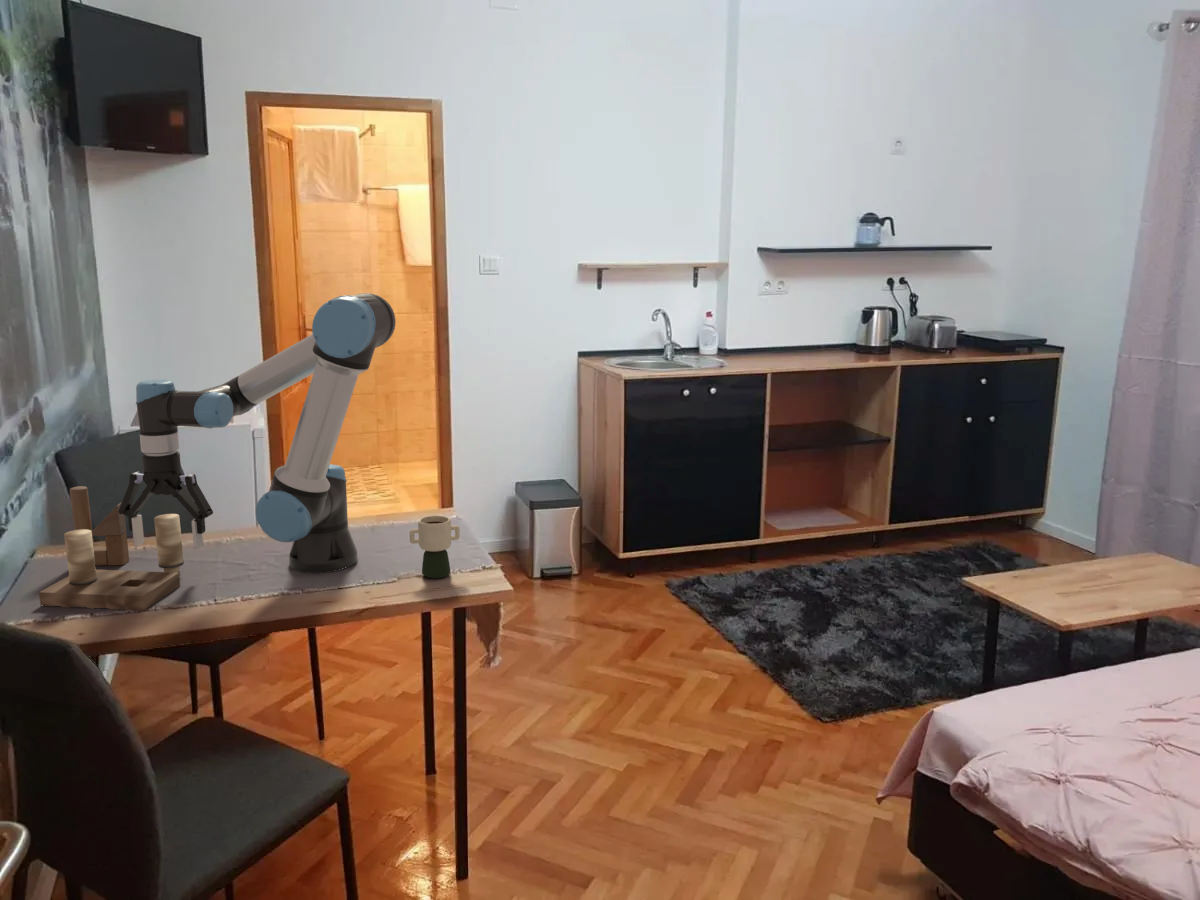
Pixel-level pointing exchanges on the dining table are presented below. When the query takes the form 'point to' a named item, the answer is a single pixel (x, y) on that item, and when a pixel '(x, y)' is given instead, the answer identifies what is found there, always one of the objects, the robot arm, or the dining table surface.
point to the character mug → (435, 544)
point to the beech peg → (169, 542)
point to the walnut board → (104, 581)
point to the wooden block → (101, 529)
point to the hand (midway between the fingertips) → (168, 546)
